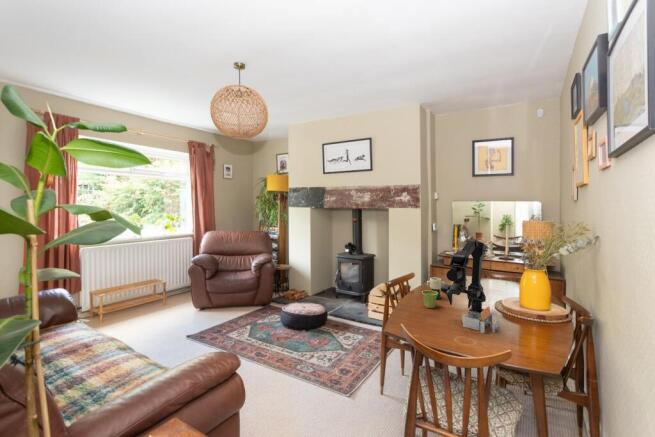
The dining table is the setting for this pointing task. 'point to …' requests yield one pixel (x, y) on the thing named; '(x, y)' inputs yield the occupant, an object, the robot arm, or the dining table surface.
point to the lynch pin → (487, 323)
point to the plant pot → (429, 298)
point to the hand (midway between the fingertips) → (459, 306)
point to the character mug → (435, 285)
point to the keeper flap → (485, 314)
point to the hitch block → (478, 322)
